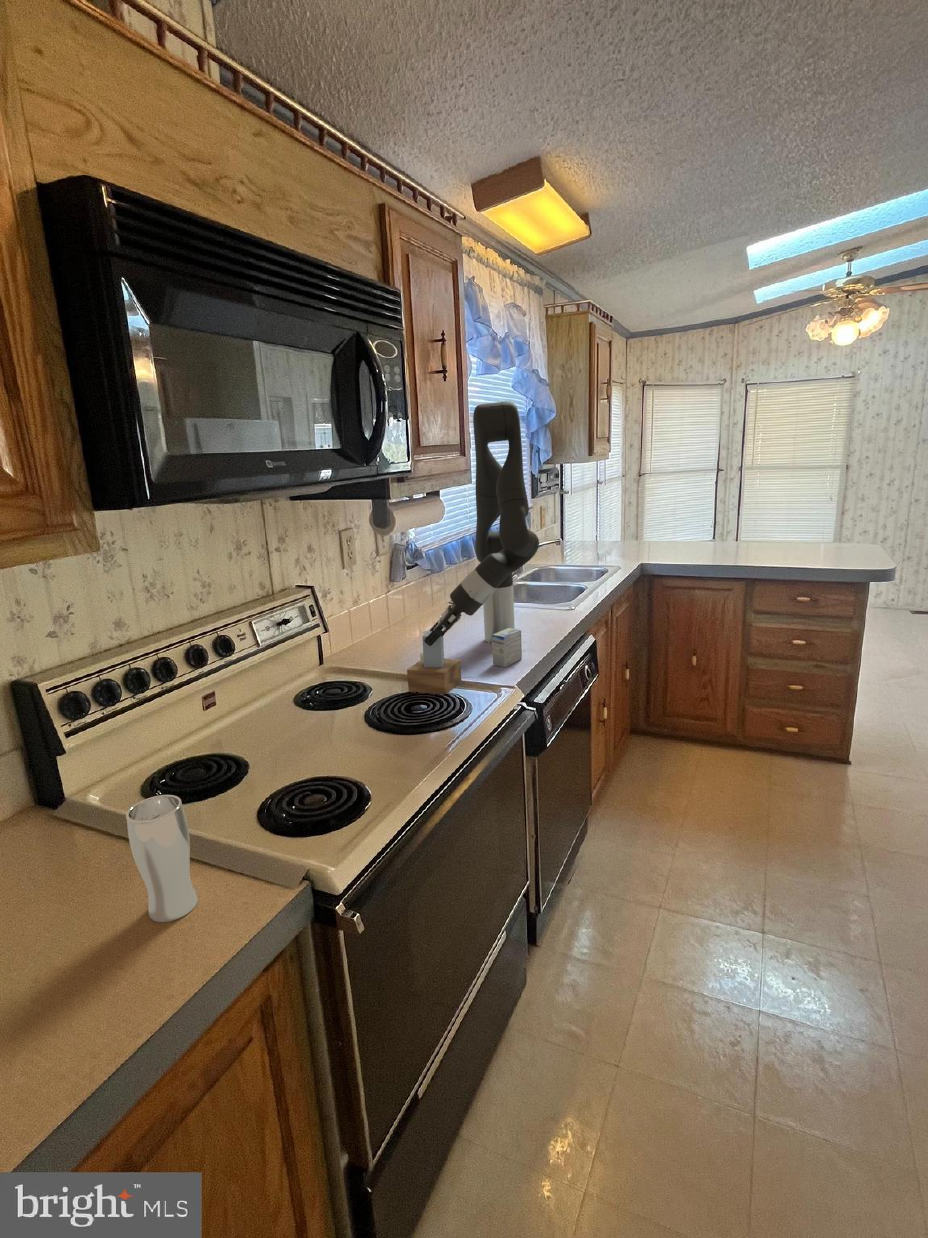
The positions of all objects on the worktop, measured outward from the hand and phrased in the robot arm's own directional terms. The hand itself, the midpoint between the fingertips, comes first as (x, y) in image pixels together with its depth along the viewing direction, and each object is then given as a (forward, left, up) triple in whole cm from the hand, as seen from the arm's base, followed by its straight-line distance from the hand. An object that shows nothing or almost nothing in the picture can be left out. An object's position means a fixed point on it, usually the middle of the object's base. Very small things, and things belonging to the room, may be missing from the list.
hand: (429, 638), depth 160 cm
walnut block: (+1, +1, -13) cm, 13 cm away
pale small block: (-10, -3, -12) cm, 16 cm away
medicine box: (-17, +18, -13) cm, 28 cm away
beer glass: (+82, -24, -13) cm, 86 cm away
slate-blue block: (+1, +1, -7) cm, 7 cm away
